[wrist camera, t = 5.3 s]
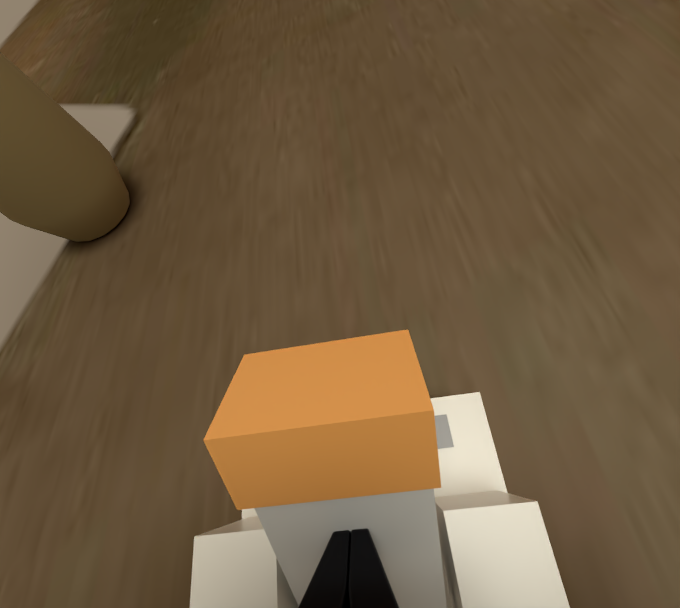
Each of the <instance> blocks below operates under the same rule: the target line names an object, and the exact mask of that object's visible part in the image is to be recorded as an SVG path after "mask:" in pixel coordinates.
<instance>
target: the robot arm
mask: <svg viewBox="0 0 680 608" xmlns="http://www.w3.org/2000/svg"><path fill="white" fill-rule="evenodd" d="M298 608H399V605H398V603H397V600H396V598H395V595H394V593H393V590H392V588H391V585H390V583H389V580H388V577H387V575H386V572H385V570H384V567H383V565H382V562H381V560H380V557H379V554H378V552H377V549H376V547H375V544H374V542H373V539H372V537H371V534H370V531H369V529H367V528H365V529H354V530H352V531H351V532H350V531H349V530H344V531H335V532H333V533H332V535H331V538H330V540H329V542H328V544H327V546H326V548H325V550H324V553H323V555H322V557H321V559H320V561H319V563H318V566H317V568H316V570H315V572H314V574H313V576H312V579H311V581H310V583H309V585H308V587H307V589H306V592H305V594H304V596H303V598H302V600H301V602H300V605H299V607H298Z"/></svg>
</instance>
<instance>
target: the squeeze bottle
mask: <svg viewBox="0 0 680 608" xmlns="http://www.w3.org/2000/svg"><path fill="white" fill-rule="evenodd" d="M129 204H130V200H129V192H128V190H127V188H126V186H125V184H124V182H123V180H122V178H121V176H120V173H119V171H118V169H117V167H116V165H115V163H114V161H113V159H112V157H111V155H110V153H109V151H108V150H107V149H106V148H105V147H104V146H103V145H102V143H101V142H100V141H98V140H97V139H96V138H95V137H94V136H93V135H92V134H91V133H90V132H88V131H87V130H86V129H85V128H84V127H83V126H82V125H81V124H80V123H78V122H77V121H76V120H75V119H74V118H73V117H72V116H71V115H69V113H67V112H66V111H65V110H64V109H63V108H62V107H61V106H60V105H59V104H57V103H56V102H55V101H54V100H53V99H52V98H51V97H50V96H49V95H47V94H46V93H45V92H44V91H43V90H42V89H41V88H40V87H39V86H37V85H36V84H35V83H34V82H33V81H32V80H31V79H30V78H29V77H27V76H26V75H25V74H24V73H23V72H22V71H21V70H20V69H19V68H17V67H16V66H15V65H14V64H13V63H12V62H11V61H10V60H9V59H7V58H6V57H5V56H4V55H3V54H2V53H1V52H0V212H1V213H2V214H3V215H5V216H6V217H7V218H9V219H10V220H12V221H14V222H17V223H19V224H22V225H24V226H27V227H30V228H33V229H37V230H40V231H43V232H47V233H50V234H53V235H56V236H59V237H63V238H66V239H69V240H72V241H76V242H80V241H91V240H93V239H96V238H98V237H101V236H103V235H105V234H106V233H108V232H109V231H110V230H112V229H113V228H114V227H116V226H117V225H118V223H119V222H120V221H121V220H122V218H123V217H124V216H125V215H126V212H127V209H128V206H129Z"/></svg>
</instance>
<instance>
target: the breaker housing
mask: <svg viewBox="0 0 680 608" xmlns="http://www.w3.org/2000/svg"><path fill="white" fill-rule="evenodd" d="M430 400H431V403H432V406H433V409H434V416H435V427H436V437H437V447H438V458H439V468H440V478H441V488H434V495H435V505H436V514H437V523H438V532H439V541H440V550H441V559H442V568H443V577H444V586H445V595H446V604H447V608H570V606H569V603H568V600H567V597H566V593H565V590H564V587H563V583H562V580H561V577H560V574H559V570H558V567H557V564H556V561H555V557H554V554H553V551H552V548H551V544H550V541H549V538H548V535H547V531H546V528H545V525H544V522H543V518H542V515H541V512H540V509H539V505H538V502H537V501H534V500H531V499H527V498H524V497H520V496H516V495H513V494H509V493H507V490H506V486H505V482H504V479H503V475H502V472H501V468H500V464H499V461H498V457H497V453H496V450H495V446H494V443H493V439H492V435H491V432H490V428H489V425H488V421H487V417H486V414H485V410H484V407H483V403H482V399H481V396H480V392H476V393H469V394H461V395H454V396H446V397H439V398H431V399H430ZM298 607H299V606H298V604H297V601H296V599H295V597H294V595H293V593H292V590H291V588H290V586H289V584H288V582H287V579H286V577H285V575H284V573H283V571H282V568H281V566H280V564H279V562H278V559H277V557H276V555H275V553H274V551H273V548H272V546H271V544H270V542H269V540H268V537H267V535H266V533H265V531H264V529H263V526H262V524H261V522H260V520H259V517H258V515H257V513H256V511H255V509H254V508H251V509H242V520H239V521H236V522H234V523H231V524H228V525H225V526H222V527H220V528H217V529H214V530H211V531H208V532H205V533H203V534H200V535H197V536H194V549H193V565H192V580H191V595H190V608H298Z"/></svg>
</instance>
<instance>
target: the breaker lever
mask: <svg viewBox="0 0 680 608" xmlns="http://www.w3.org/2000/svg"><path fill="white" fill-rule="evenodd" d="M203 441H204V443H205V445H206V447H207V449H208V451H209V453H210V455H211V457H212V459H213V461H214V463H215V465H216V467H217V469H218V471H219V473H220V476H221V478H222V480H223V482H224V484H225V486H226V488H227V490H228V492H229V494H230V496H231V498H232V500H233V502H234V504H235V506H236V508H237V510H241V509H251V508H254V509H255V511H256V513H257V515H258V517H259V520H260V522H261V524H262V526H263V529H264V531H265V533H266V535H267V537H268V540H269V542H270V544H271V546H272V548H273V551H274V553H275V555H276V557H277V559H278V562H279V564H280V566H281V568H282V571H283V573H284V575H285V577H286V579H287V582H288V584H289V586H290V588H291V590H292V593H293V595H294V597H295V599H296V601H297V604H298V606H299V605H300V602H301V600H302V598H303V596H304V594H305V592H306V589H307V587H308V585H309V583H310V581H311V579H312V576H313V574H314V572H315V570H316V568H317V566H318V563H319V561H320V559H321V557H322V555H323V553H324V550H325V548H326V546H327V544H328V542H329V540H330V538H331V535H332V533H333V532H335V531H344V530H349V531H350V532H351V531H352V530H354V529H365V528H367V529H369V531H370V534H371V537H372V539H373V542H374V544H375V547H376V549H377V552H378V554H379V557H380V560H381V562H382V565H383V567H384V570H385V572H386V575H387V577H388V580H389V583H390V585H391V588H392V590H393V593H394V595H395V598H396V600H397V603H398V605H399V608H447V604H446V595H445V586H444V577H443V568H442V559H441V550H440V541H439V532H438V523H437V514H436V505H435V495H434V488H441V478H440V468H439V458H438V447H437V437H436V427H435V416H434V409H433V406H432V403H431V400H430V396H429V393H428V390H427V387H426V384H425V381H424V378H423V375H422V372H421V368H420V365H419V362H418V359H417V356H416V353H415V350H414V347H413V344H412V340H411V337H410V334H409V331H408V330H402V331H395V332H389V333H382V334H376V335H369V336H363V337H356V338H350V339H343V340H337V341H330V342H324V343H317V344H311V345H304V346H298V347H291V348H285V349H278V350H272V351H265V352H259V353H252V354H246V355H244V356H243V358H242V360H241V363H240V365H239V367H238V369H237V371H236V373H235V375H234V377H233V379H232V381H231V383H230V386H229V388H228V390H227V392H226V394H225V396H224V398H223V400H222V402H221V404H220V407H219V409H218V411H217V413H216V415H215V417H214V419H213V421H212V423H211V425H210V427H209V430H208V432H207V434H206V436H205V438H204V440H203Z"/></svg>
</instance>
